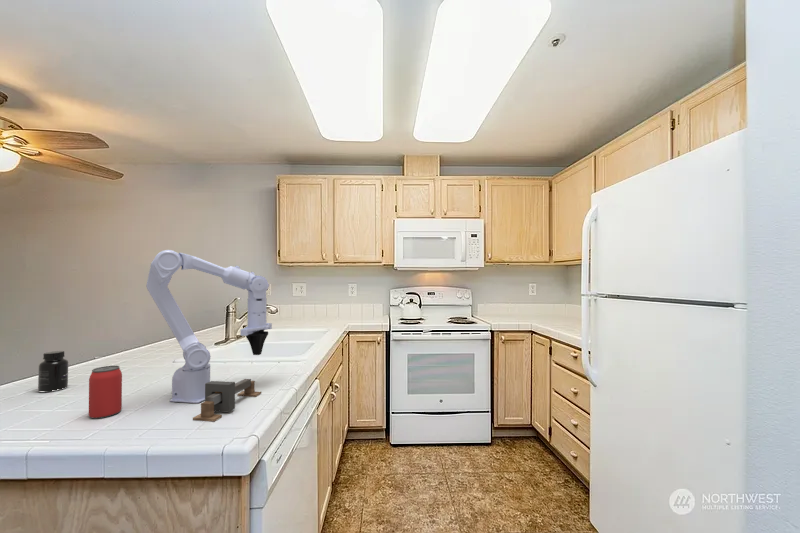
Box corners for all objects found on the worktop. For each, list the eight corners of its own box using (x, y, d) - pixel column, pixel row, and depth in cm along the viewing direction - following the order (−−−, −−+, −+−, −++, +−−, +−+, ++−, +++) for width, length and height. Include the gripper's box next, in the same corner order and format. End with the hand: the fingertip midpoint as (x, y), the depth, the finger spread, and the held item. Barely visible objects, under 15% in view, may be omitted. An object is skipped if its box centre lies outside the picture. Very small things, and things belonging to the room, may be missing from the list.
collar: (205, 410, 91) (205, 383, 91) (211, 407, 93) (211, 380, 93) (229, 412, 90) (229, 384, 90) (234, 408, 92) (235, 381, 92)
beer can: (94, 421, 86) (94, 372, 86) (84, 416, 89) (85, 369, 90) (125, 412, 92) (126, 366, 92) (115, 407, 95) (116, 363, 95)
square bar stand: (192, 420, 86) (192, 399, 86) (243, 392, 106) (243, 375, 106) (214, 421, 85) (214, 400, 85) (261, 393, 105) (261, 376, 105)
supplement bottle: (71, 388, 113) (71, 351, 113) (41, 394, 107) (42, 355, 107) (64, 385, 116) (64, 349, 117) (35, 390, 111) (36, 353, 111)
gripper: (255, 315, 104) (255, 360, 104) (279, 310, 119) (279, 350, 118) (234, 314, 106) (234, 359, 105) (261, 310, 120) (261, 349, 120)
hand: (257, 354), depth 112 cm, fingers closed
